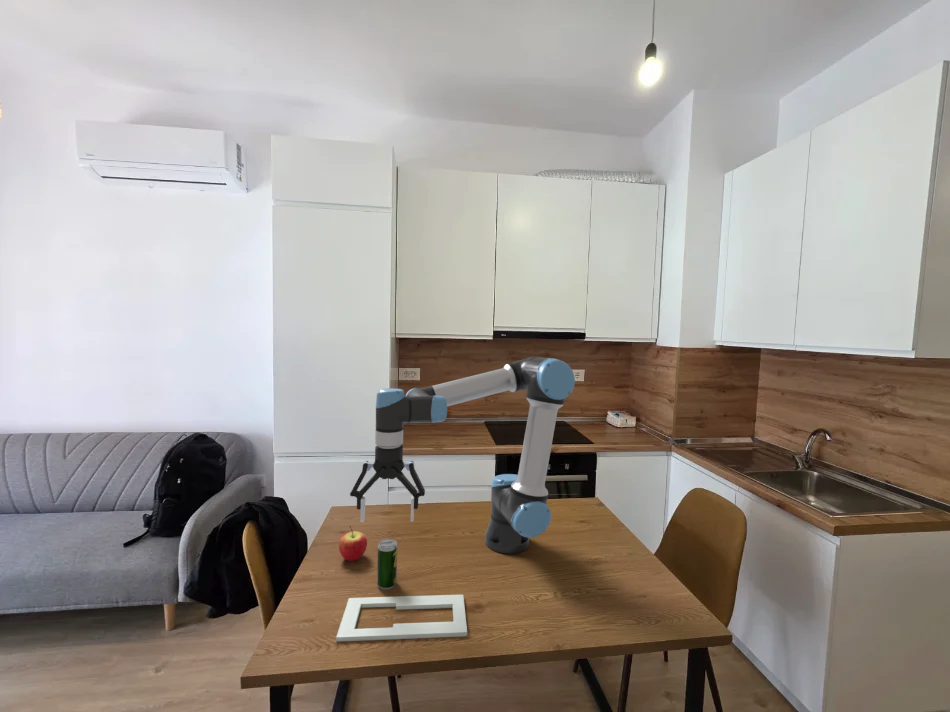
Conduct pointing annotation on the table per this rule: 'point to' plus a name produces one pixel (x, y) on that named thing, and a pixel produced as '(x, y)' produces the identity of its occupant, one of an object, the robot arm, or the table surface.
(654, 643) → the table surface
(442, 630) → the keyhole board
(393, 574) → the beer can
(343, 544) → the apple
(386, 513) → the table surface
